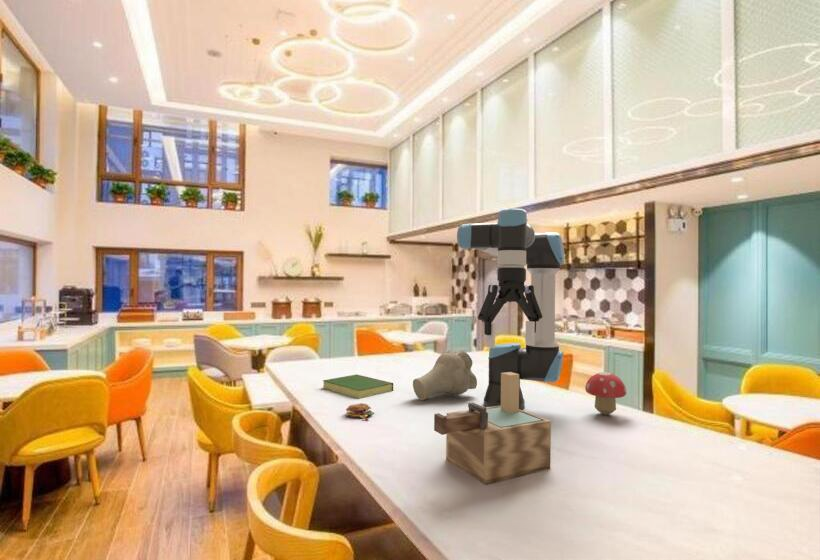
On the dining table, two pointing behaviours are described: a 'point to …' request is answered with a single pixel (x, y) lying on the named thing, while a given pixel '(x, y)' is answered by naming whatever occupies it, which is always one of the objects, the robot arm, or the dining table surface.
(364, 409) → the hamburger
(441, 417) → the block
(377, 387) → the hardcover book
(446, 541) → the dining table surface
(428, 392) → the beige knobby lump
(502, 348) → the robot arm
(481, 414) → the toolbox
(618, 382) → the decorative mushroom
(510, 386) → the lid
